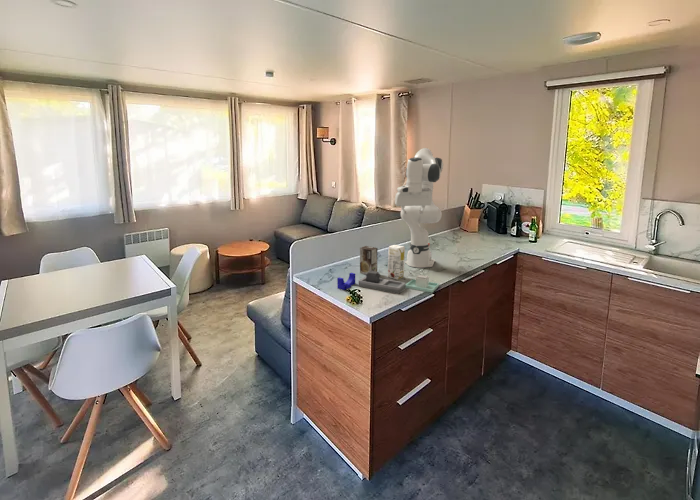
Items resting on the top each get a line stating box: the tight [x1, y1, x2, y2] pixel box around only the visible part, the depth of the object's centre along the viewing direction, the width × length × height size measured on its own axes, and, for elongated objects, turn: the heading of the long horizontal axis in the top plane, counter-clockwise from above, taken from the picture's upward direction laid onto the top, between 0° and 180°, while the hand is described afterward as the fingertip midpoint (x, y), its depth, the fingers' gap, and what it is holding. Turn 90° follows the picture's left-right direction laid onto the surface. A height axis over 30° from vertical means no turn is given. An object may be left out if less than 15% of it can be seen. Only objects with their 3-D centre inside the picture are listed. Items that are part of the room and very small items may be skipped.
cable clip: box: [336, 272, 356, 291], centre depth 213 cm, size 12×4×6 cm, turn 141°
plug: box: [415, 274, 430, 288], centre depth 211 cm, size 4×6×6 cm
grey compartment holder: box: [358, 271, 407, 295], centre depth 211 cm, size 10×24×8 cm, turn 61°
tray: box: [405, 278, 440, 294], centre depth 212 cm, size 12×16×2 cm
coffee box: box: [359, 245, 378, 275], centre depth 234 cm, size 9×6×16 cm
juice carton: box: [387, 244, 406, 281], centre depth 226 cm, size 8×9×19 cm
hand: (412, 213), depth 211 cm, fingers open, 8 cm apart
